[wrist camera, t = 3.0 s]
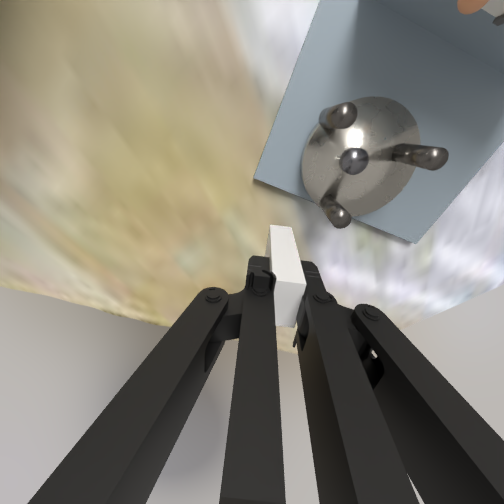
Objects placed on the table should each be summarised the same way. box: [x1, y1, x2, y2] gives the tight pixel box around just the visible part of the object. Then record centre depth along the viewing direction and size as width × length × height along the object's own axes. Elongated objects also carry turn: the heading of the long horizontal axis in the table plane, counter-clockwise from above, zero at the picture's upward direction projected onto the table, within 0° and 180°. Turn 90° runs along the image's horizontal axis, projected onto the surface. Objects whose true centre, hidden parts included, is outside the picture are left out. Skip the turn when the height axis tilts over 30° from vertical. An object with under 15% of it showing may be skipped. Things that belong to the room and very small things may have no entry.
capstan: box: [301, 96, 449, 229], centre depth 23 cm, size 12×12×8 cm
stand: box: [254, 0, 504, 244], centre depth 21 cm, size 24×20×11 cm
